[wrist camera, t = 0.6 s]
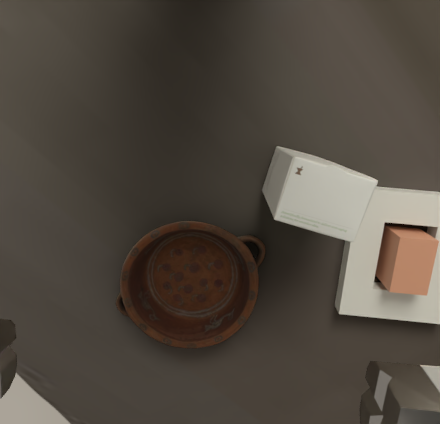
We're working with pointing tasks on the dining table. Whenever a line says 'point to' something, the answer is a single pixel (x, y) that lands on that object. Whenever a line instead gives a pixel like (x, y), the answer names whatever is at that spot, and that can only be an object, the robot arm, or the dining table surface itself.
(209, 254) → the dish
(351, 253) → the pocket board
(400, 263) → the part
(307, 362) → the dining table surface
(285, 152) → the skincare box
